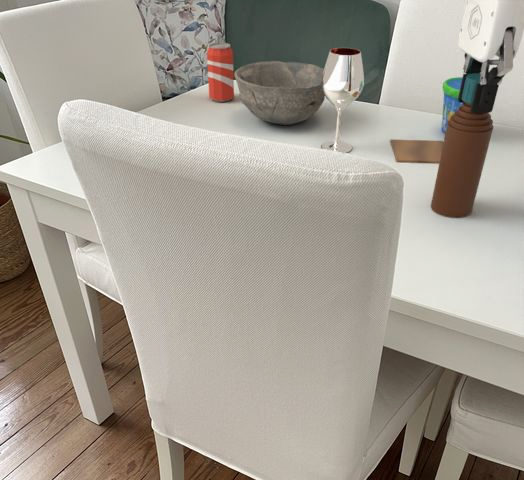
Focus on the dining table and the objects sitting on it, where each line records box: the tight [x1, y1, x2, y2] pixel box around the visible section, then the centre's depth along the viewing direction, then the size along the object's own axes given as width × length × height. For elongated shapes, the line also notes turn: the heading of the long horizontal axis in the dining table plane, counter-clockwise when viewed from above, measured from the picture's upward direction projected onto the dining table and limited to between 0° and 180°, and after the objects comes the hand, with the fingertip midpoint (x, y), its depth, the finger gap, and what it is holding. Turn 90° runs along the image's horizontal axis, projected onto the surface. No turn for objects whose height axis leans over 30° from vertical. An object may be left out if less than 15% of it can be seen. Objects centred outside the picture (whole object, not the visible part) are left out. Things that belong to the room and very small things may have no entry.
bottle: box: [430, 102, 494, 218], centre depth 90 cm, size 7×7×20 cm
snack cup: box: [441, 76, 463, 134], centre depth 120 cm, size 16×10×10 cm
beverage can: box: [206, 42, 235, 103], centre depth 137 cm, size 6×6×12 cm
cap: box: [462, 73, 481, 104], centre depth 84 cm, size 4×4×3 cm
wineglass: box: [320, 47, 365, 154], centre depth 111 cm, size 8×8×18 cm
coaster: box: [389, 139, 444, 164], centre depth 116 cm, size 11×11×1 cm
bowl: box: [233, 60, 326, 126], centre depth 126 cm, size 21×21×10 cm
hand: (474, 105), depth 86 cm, fingers closed on cap, 4 cm apart
